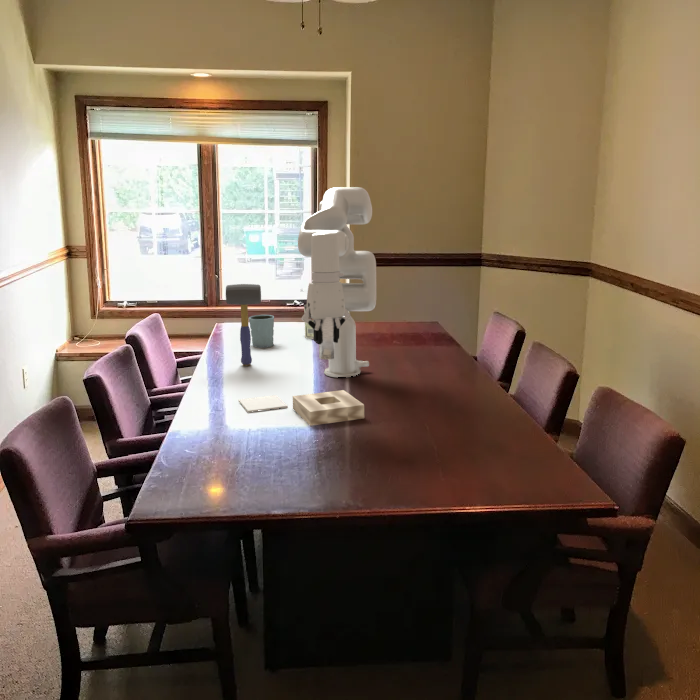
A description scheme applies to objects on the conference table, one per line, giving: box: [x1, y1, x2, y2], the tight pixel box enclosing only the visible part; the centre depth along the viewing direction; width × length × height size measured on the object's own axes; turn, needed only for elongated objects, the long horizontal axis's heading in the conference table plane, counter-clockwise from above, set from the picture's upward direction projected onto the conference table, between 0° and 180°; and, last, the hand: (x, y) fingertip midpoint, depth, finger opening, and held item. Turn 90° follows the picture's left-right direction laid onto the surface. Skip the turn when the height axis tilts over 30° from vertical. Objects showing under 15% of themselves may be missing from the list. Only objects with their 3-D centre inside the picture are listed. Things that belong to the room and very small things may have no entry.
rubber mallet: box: [225, 283, 262, 367], centre depth 256 cm, size 12×8×30 cm, turn 93°
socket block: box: [292, 389, 365, 427], centre depth 203 cm, size 16×16×4 cm
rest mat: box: [238, 394, 288, 413], centre depth 212 cm, size 12×12×1 cm
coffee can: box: [303, 303, 314, 340], centre depth 305 cm, size 10×10×14 cm
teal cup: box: [248, 314, 275, 349], centre depth 290 cm, size 10×10×12 cm
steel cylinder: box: [318, 317, 335, 361], centre depth 198 cm, size 4×4×12 cm
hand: (326, 341), depth 198 cm, fingers closed on steel cylinder, 4 cm apart
